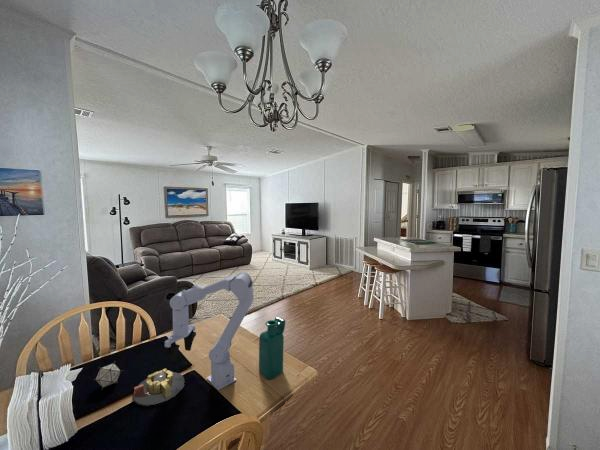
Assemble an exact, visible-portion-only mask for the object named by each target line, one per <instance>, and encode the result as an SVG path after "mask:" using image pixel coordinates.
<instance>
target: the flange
mask: <svg viewBox="0 0 600 450" xmlns="http://www.w3.org/2000/svg"><path fill="white" fill-rule="evenodd" d="M171 372H172V373H173V383H172V386H171V396H169V397H167V398H165V396H164V395H163V394H162V392H160V393H156V394H152V393H149V392H148V391H147V389H146V381H147V378H145V379H144V380H143V381H141V382H140V383H139V384H138V385H137V386H135V387H133V389H134V391H133V397H132V398H133V401H134V403H135V404H137V405H138V406H141V405H142V406H141V407H151V406H150V405H155V406H157V405H156V404H159V403H162V402H165V401H167V402H169V401H171V400H172V399H171V398H173V397H174V398H176V397H177V396H178V395H179V394H180V393H181V392H182V391H181V390H183V389H184V387H185V384H184V383H185V377H184V376H183V374H181V373H179V372H175V371H171ZM165 379H166V374H165V373H159V374H157V375H155V376H154V381H157V383H158V382H162V381H164V380H165ZM180 391H181V392H180ZM179 392H180V393H179ZM178 393H179V394H178ZM177 394H178V395H177ZM176 395H177V396H176ZM174 398H173V399H174ZM170 399H171V400H170ZM168 400H169V401H168ZM165 403H166V402H165ZM162 404H163V403H162ZM159 405H160V404H159Z"/></svg>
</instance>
